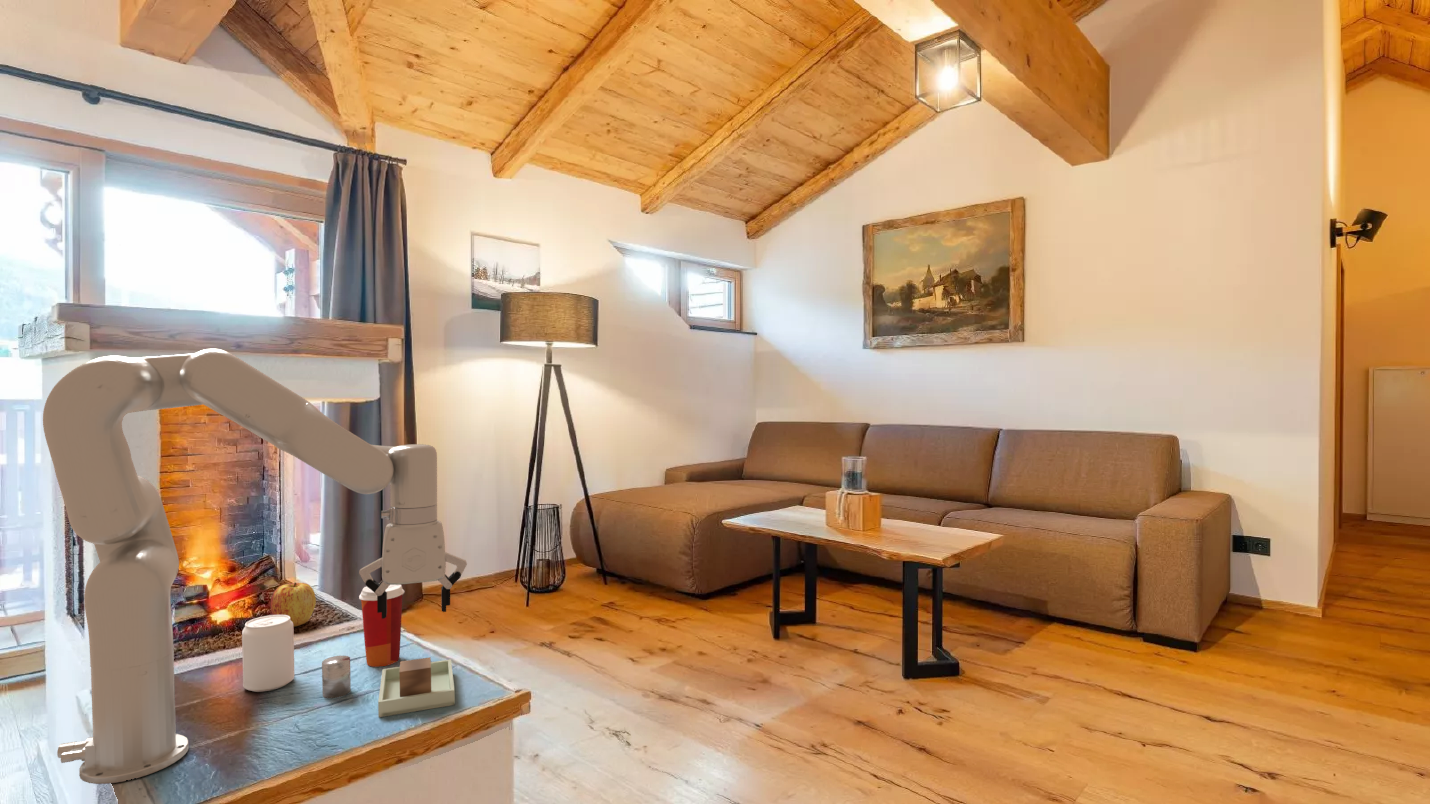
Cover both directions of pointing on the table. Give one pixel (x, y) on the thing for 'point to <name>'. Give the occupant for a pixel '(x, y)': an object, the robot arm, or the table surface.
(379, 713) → the parts tray
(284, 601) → the apple
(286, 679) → the beverage can
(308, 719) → the table surface
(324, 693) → the metal cylinder
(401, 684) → the walnut block
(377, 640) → the coffee cup
